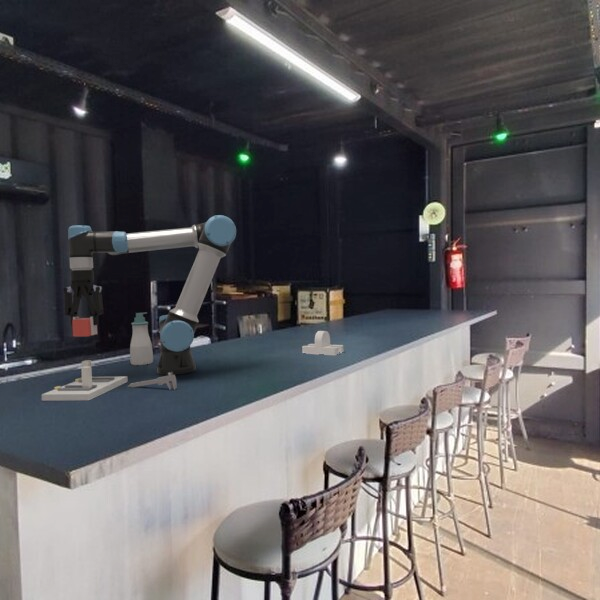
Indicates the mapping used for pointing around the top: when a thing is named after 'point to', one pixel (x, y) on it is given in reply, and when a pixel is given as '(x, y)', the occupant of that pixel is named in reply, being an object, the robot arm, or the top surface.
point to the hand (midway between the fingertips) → (85, 334)
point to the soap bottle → (140, 342)
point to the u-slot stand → (322, 345)
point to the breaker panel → (84, 389)
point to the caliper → (159, 381)
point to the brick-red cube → (82, 327)
